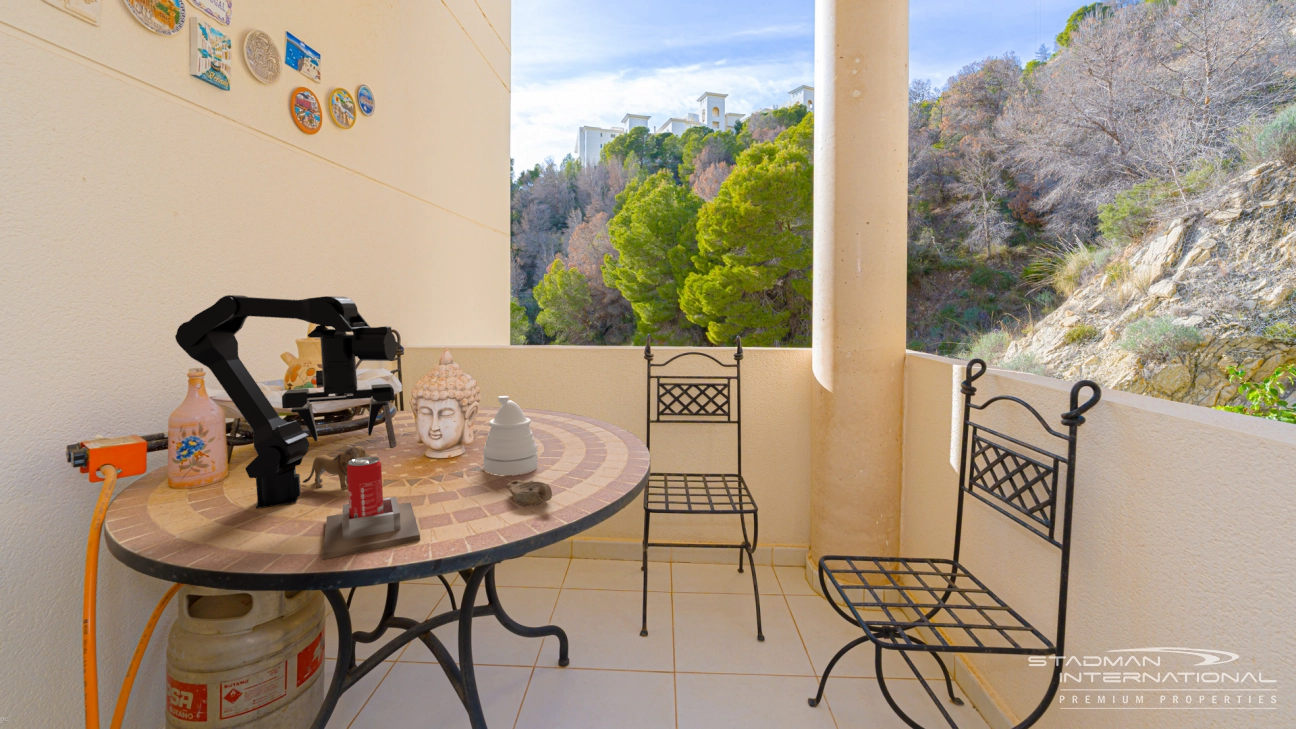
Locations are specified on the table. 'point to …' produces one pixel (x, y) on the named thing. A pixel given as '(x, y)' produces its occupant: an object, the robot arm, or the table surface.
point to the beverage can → (365, 487)
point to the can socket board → (370, 530)
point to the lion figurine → (335, 465)
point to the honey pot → (510, 442)
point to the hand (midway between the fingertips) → (343, 437)
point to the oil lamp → (529, 492)
